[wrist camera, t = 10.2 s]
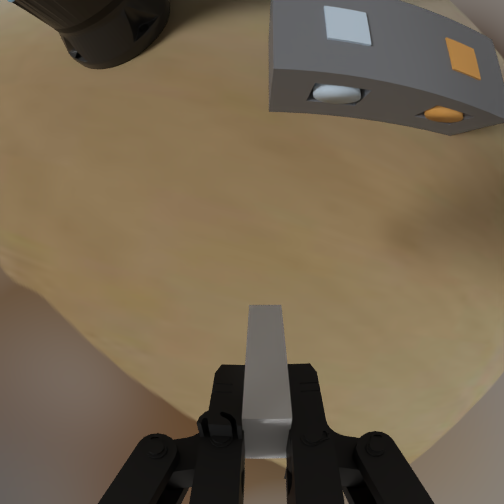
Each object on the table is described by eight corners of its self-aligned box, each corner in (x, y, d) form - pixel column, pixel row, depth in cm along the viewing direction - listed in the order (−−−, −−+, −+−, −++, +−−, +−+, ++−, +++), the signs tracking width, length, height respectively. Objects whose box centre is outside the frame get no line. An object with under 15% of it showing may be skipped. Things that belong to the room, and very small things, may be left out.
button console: (268, 39, 28) (271, -23, 16) (441, 69, 28) (493, 38, 16) (268, 111, 30) (273, 67, 18) (450, 135, 30) (511, 121, 18)
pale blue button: (308, 70, 25) (316, 51, 20) (350, 75, 25) (364, 58, 20) (309, 101, 25) (317, 86, 21) (352, 105, 25) (367, 92, 21)
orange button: (414, 88, 25) (434, 75, 20) (445, 96, 24) (466, 86, 20) (417, 117, 25) (438, 107, 21) (448, 124, 25) (470, 117, 21)
